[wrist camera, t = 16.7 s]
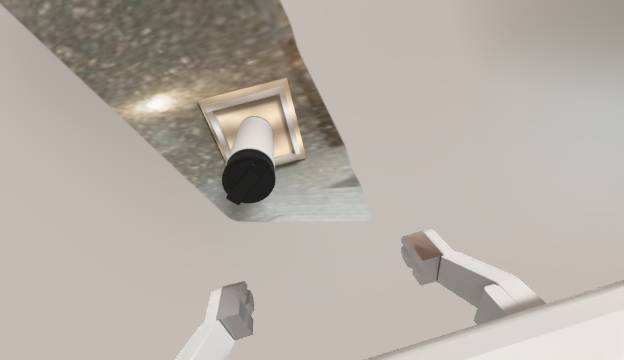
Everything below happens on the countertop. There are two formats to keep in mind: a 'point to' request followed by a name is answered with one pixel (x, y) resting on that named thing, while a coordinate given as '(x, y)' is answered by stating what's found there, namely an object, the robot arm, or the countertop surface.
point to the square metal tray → (256, 102)
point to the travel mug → (250, 163)
